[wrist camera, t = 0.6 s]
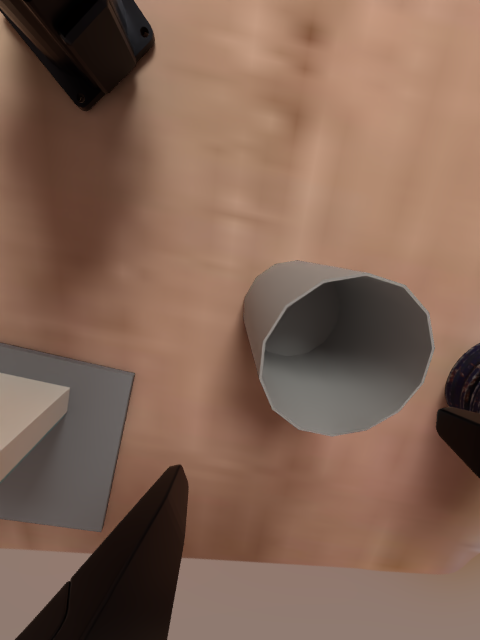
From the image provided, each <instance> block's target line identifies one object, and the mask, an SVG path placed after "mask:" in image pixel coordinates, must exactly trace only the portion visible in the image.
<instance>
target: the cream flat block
mask: <svg viewBox="0 0 480 640" xmlns="http://www.w3.org/2000/svg"><path fill="white" fill-rule="evenodd" d="M69 392H70V387H65V386H60V385H56V384H51V383H46V382H41V381H37V380H32V379H27V378H23V377H18V376H13V375H8V374H4V373H0V484H1V483H2V482H3V480H4V479H5V478H6V477H7V476H8V475H9V474H10V473H11V472H12V471H13V470H14V469H15V468H16V467H17V466H18V465H19V464H20V463H21V461H22V460H23V459H24V458H25V457H26V456H27V455H28V454H29V453H30V452H31V451H32V450H33V449H34V448H35V447H36V446H37V445H38V444H39V442H40V441H41V440H42V439H43V438H44V437H45V436H46V435H47V434H48V433H49V432H50V431H51V430H52V429H53V428H54V427H55V426H56V425H57V423H58V422H59V421H60V420H61V419H62V418H63V417H64V416H65V413H66V412H67V408H68V400H69Z"/></svg>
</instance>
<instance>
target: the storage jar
mask: <svg viewBox="0 0 480 640" xmlns="http://www.w3.org/2000/svg"><path fill="white" fill-rule="evenodd" d="M445 395H446V400H447V403H448V405H449V407H454V408H458V409H462V410H466V411H471V412H475V413H479V414H480V343H479V344H477V345H476V346H474V347H472V348H471V349H470V350H469V351H467V352H466V353H465V354H464V355H463V356H462V357H461V358H460V359H459V360H458V361H457V363H456V364H455V365H454V367H453V369H452V370H451V372H450V374H449V376H448V379H447V383H446V388H445Z"/></svg>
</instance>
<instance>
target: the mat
mask: <svg viewBox="0 0 480 640" xmlns="http://www.w3.org/2000/svg"><path fill="white" fill-rule="evenodd" d="M0 373H4V374H8V375H13V376H18V377H23V378H27V379H32V380H37V381H41V382H46V383H51V384H56V385H60V386H65V387H70V392H69V400H68V408H67V412H66V413H65V416H64V417H63V418H62V419H61V420H60V421H59V422H58V423H57V425H56V426H55V427H54V428H53V429H52V430H51V431H50V432H49V433H48V434H47V435H46V436H45V437H44V438H43V439H42V440H41V441H40V442H39V444H38V445H37V446H36V447H35V448H34V449H33V450H32V451H31V452H30V453H29V454H28V455H27V456H26V457H25V458H24V459H23V460H22V461H21V463H20V464H19V465H18V466H17V467H16V468H15V469H14V470H13V471H12V472H11V473H10V474H9V475H8V476H7V477H6V478H5V479H4V480H3V482H2V483H1V484H0V519H5V520H13V521H20V522H28V523H36V524H43V525H51V526H58V527H66V528H73V529H81V530H88V531H96V532H101V531H102V528H103V525H104V520H105V515H106V511H107V506H108V501H109V496H110V491H111V486H112V482H113V477H114V472H115V467H116V462H117V458H118V453H119V448H120V443H121V438H122V433H123V429H124V424H125V419H126V414H127V409H128V405H129V400H130V395H131V390H132V385H133V381H134V376H135V373H131V372H127V371H122V370H118V369H114V368H109V367H105V366H100V365H96V364H92V363H87V362H83V361H79V360H74V359H70V358H65V357H61V356H57V355H52V354H48V353H44V352H39V351H35V350H30V349H26V348H22V347H17V346H13V345H9V344H4V343H0Z"/></svg>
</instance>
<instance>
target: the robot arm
mask: <svg viewBox="0 0 480 640" xmlns="http://www.w3.org/2000/svg"><path fill="white" fill-rule="evenodd" d="M0 11H1V13H2V14H3V15H4V16H5V18H6V19H7V20H8V21H9V23H10V24H11V25H12V26H13V27H14V29H15V30H16V31H17V32H18V34H19V35H20V36H21V37H22V39H23V40H24V41H25V42H26V44H27V45H28V46H29V47H30V48H31V50H32V51H33V52H34V53H35V55H36V56H37V57H38V58H39V60H40V61H41V62H42V63H43V65H44V66H45V67H46V68H47V69H48V71H49V72H50V73H51V74H52V76H53V77H54V78H55V79H56V81H57V82H58V83H59V84H60V86H61V87H62V88H63V89H64V90H65V92H66V93H67V94H68V95H69V97H70V98H71V99H72V100H73V102H74V103H75V104H76V105H77V106H78V107H79V108H80V109H81V110H84V111H88V110H90V109H91V108H92V107H93V106H94V105H95V104H96V103H97V102H98V101H99V100H100V99H101V98H102V97H103V96H104V95H105V94H106V93H109V92H110V91H111V90H112V89H113V88H114V87H115V86H116V85H117V84H118V83H119V82H120V81H121V80H122V79H123V78H124V77H125V76H126V75H127V74H128V73H129V72H130V71H131V70H132V69H133V68H134V67H135V66H136V62H137V61H138V60H139V59H140V58H141V57H142V56H143V55H144V54H145V53H146V52H147V51H148V50H149V49H150V48H151V47H152V46H153V44H154V41H155V37H154V33H153V30H152V28H151V26H150V24H149V23H148V21H147V20H146V18H145V17H144V15H143V14H142V12H141V11H140V9H139V8H138V6H137V5H136V3H135V2H134V0H0ZM145 32H147V33H149V35H148V37H146V38H145V37H143V36H142V35H143V33H145ZM82 97H85V101H84V102H83V103H80V99H81V98H82ZM436 430H437V432H438V434H439V436H440V437H441V438H442V439H443V440H444V441H445V442H446V443H447V444H448V446H449V447H450V448H451V449H452V450H453V451H454V452H455V453H456V454H457V455H458V456H459V457H460V458H461V459H462V460H463V462H464V463H465V464H466V465H467V466H468V467H469V468H470V469H471V470H472V471H473V472H474V473H475V474H476V475H477V476H478V477H479V478H480V414H479V413H475V412H471V411H466V410H462V409H458V408H454V407H447V408H442V409H439V410H438V412H437V422H436ZM187 502H188V481H187V478H186V475H185V473H184V470H183V467H182V466H181V465H174V466H170V467H169V468H168V469H167V470H166V471H165V472H164V473H163V474H162V476H161V477H160V478H159V479H158V480H157V481H156V482H155V483H154V485H153V486H152V487H151V488H150V489H149V490H148V491H147V493H146V494H145V495H144V496H143V497H142V498H141V499H140V500H139V502H138V503H137V504H136V505H135V506H134V507H133V508H132V510H131V511H130V512H129V513H128V514H127V515H126V516H125V518H124V519H123V520H122V521H121V522H120V523H119V524H118V525H117V527H116V528H115V529H114V530H113V531H112V532H111V533H110V535H109V536H108V537H107V538H106V539H105V540H104V541H103V542H102V544H101V545H100V546H99V547H98V548H97V549H96V550H95V552H94V553H93V554H92V555H91V556H90V557H89V558H88V560H87V561H86V562H85V563H84V564H83V565H82V566H81V567H80V569H79V570H78V571H77V572H76V573H75V574H74V576H73V577H72V578H71V581H68V582H67V583H66V584H65V585H64V586H63V587H62V588H61V590H60V591H59V592H58V593H57V594H56V595H55V596H54V597H53V598H52V600H51V601H50V602H49V603H48V604H47V605H46V606H45V607H44V609H43V610H42V611H41V612H40V613H39V614H38V615H37V616H36V617H35V619H34V620H33V621H32V622H31V623H30V624H29V625H28V626H27V627H26V628H25V629H24V631H23V632H22V633H21V634H20V635H19V636H18V637H17V638H16V639H15V640H167V636H168V631H169V625H170V619H171V614H172V608H173V602H174V597H175V591H176V585H177V580H178V574H179V568H180V563H181V557H182V551H183V545H184V539H185V528H186V515H187Z"/></svg>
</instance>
